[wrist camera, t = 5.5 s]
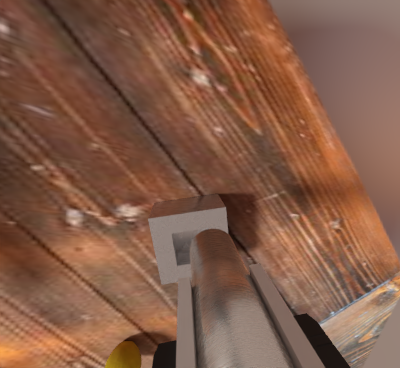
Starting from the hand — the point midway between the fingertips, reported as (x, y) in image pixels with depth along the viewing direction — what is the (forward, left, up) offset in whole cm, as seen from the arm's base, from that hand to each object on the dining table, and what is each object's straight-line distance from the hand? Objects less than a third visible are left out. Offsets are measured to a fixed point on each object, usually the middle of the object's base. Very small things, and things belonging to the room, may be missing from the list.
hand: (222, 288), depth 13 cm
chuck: (+11, -2, -21) cm, 24 cm away
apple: (+30, -18, -22) cm, 41 cm away
